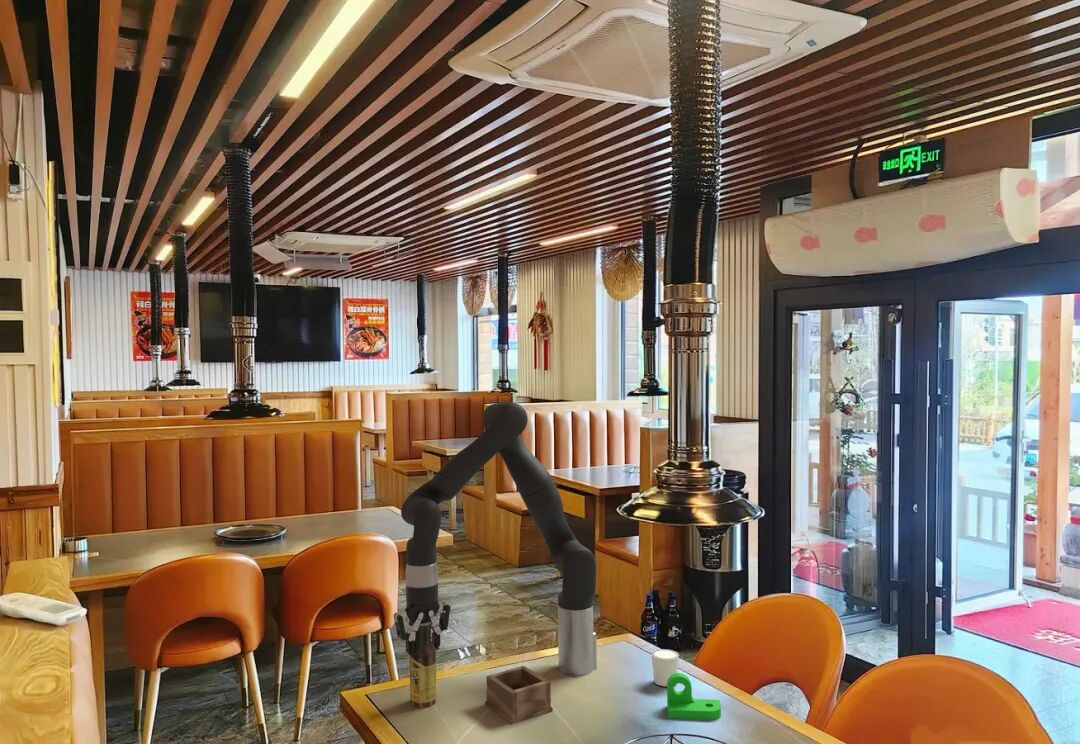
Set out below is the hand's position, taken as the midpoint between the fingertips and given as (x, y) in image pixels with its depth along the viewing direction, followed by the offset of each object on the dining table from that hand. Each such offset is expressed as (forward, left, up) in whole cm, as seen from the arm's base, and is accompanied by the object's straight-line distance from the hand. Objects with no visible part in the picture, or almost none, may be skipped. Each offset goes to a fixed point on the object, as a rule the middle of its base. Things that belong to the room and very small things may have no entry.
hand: (423, 651), depth 184 cm
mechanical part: (-49, +40, -13) cm, 64 cm away
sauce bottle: (0, 0, -13) cm, 13 cm away
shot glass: (-55, +24, -13) cm, 61 cm away
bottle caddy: (-17, +15, -13) cm, 26 cm away
